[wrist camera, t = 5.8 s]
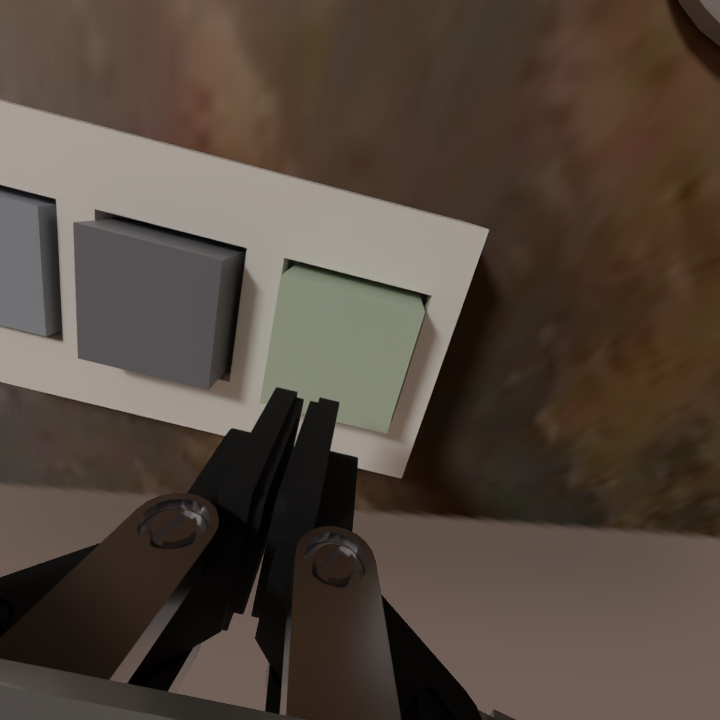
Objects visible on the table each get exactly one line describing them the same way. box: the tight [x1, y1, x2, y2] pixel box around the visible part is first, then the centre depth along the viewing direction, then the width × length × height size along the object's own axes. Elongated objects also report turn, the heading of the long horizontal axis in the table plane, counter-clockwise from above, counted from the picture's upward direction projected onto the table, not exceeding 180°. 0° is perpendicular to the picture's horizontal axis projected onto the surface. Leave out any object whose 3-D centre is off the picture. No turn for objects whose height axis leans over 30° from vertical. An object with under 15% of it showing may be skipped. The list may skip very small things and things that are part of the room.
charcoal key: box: [73, 218, 247, 390], centre depth 16 cm, size 5×5×3 cm
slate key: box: [0, 185, 62, 337], centre depth 16 cm, size 5×5×3 cm
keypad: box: [0, 99, 489, 479], centre depth 18 cm, size 22×11×4 cm, turn 76°
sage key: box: [260, 262, 425, 434], centre depth 16 cm, size 5×5×3 cm
